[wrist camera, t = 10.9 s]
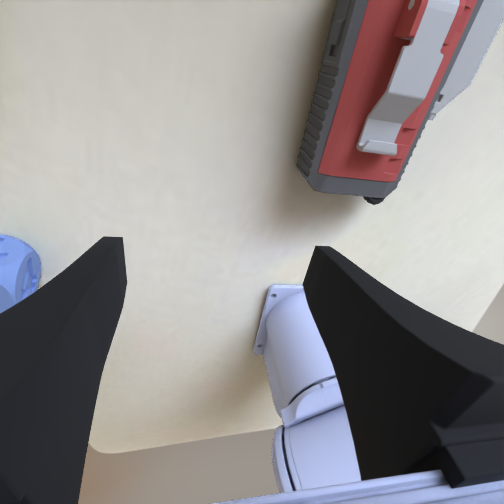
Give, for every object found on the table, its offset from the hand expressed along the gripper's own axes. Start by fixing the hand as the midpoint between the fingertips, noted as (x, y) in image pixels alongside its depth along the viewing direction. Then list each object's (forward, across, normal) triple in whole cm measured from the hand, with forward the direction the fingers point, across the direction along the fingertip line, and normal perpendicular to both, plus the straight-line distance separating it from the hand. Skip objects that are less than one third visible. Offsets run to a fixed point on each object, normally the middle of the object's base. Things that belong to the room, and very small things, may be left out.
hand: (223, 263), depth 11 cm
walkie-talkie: (+11, -10, -9) cm, 17 cm away
